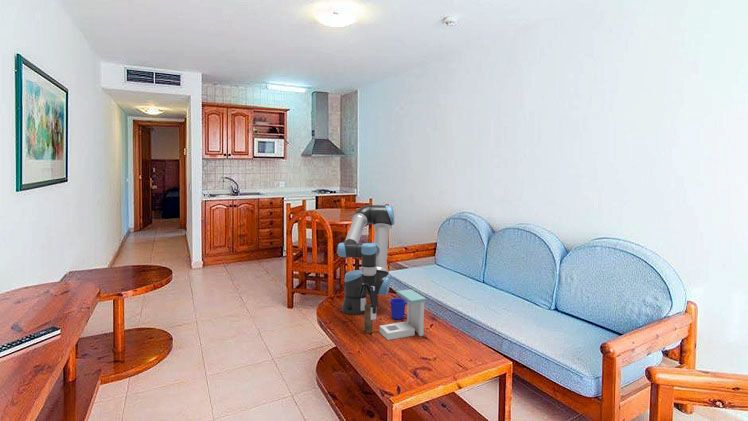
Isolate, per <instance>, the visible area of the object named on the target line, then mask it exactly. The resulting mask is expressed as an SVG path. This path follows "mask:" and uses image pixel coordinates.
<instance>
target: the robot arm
mask: <svg viewBox="0 0 748 421" xmlns="http://www.w3.org/2000/svg"><path fill="white" fill-rule="evenodd" d="M394 212H395V211H394V208H393V206H392V205H389V204H388V205H386V204H381V205H379V204H367V205H363V206H361V207H360V208H358V209H357V210H356V211H355V212H354V213H353V215H352V217H351V224H350V227H349V229H348V232H347V235H346V237H345V240H344V242H339V243H338V244H337V255H338V257H340V258H341V257H342V258H355V259H356V258H358V259H359V258H360V259H361V267H360V269H355V270H351V271H347V272H346V273H345V275H344V281H343V282H344V298H343V300H342V305H341V311H342V312H341V313H344V314H347V315H361V314H364V312H365V304H367V295H368V297H369V301H370V304H371V320H372V321H373V320H377V308H378V307H379V306H380V305H379V300H378V296H387V294H388V293H389V291H390V287H391V281H392V280H391V279H392V276H391V275H390V274H389V273H390V272H389V270H387V263H388V251H389V250H388V249H389V236H390V235H389V234H390V233H389V232H390V230H391V229H392V227H393V225H395V213H394ZM367 224H368V225H372V228H373V229H374V234H373V235H374V237H373V242H365V243H360V239H361V238H362V237H361V236H362V235H363V231H364V228H365V227H366V226H367Z"/></svg>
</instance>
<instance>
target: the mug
mask: <svg viewBox="0 0 748 421" xmlns="http://www.w3.org/2000/svg"><path fill="white" fill-rule="evenodd" d="M406 306H407V301H406V300H405V299H403V298H402V297H395V298H391V299H390V313H391V314H390V315H391V318H392V319H394V320H402V319H403V318H404V316H405V317H407V314H406V312H405V311H406Z"/></svg>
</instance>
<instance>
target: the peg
mask: <svg viewBox="0 0 748 421" xmlns="http://www.w3.org/2000/svg"><path fill="white" fill-rule="evenodd" d="M363 314H364V316H363V317H364V322H363V324H364V326H363V329H364V333H365V334H371V333H373V320H371V303H366V304H365V312H364V313H363Z"/></svg>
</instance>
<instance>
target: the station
mask: <svg viewBox="0 0 748 421" xmlns="http://www.w3.org/2000/svg"><path fill="white" fill-rule="evenodd" d="M396 295H397V296H399V298H401V299H404V300H405V302H407V304H406V306H407V307H406V308H407V309H406V310H407V311H406V312H407V316H406V321H401V322H394V323H389V324H382V325H379V334H380V335H382V337H384V338H385V339H386V340H387V341H392V340H395V339H396V340H397V339H402V338H407V337H412V336H413V337H414V336H415V335H416V334H415V332H416V333H417V335H418V336H419V337H423V336H424V332H425V331H424V330H425V328H424V327H425V302H427V298H426V297H425V296H424V295H422V294H419V293H418V292H416V291H415V290H413V289H412V288H411V289H410V288H409V289H402V290H396Z"/></svg>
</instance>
